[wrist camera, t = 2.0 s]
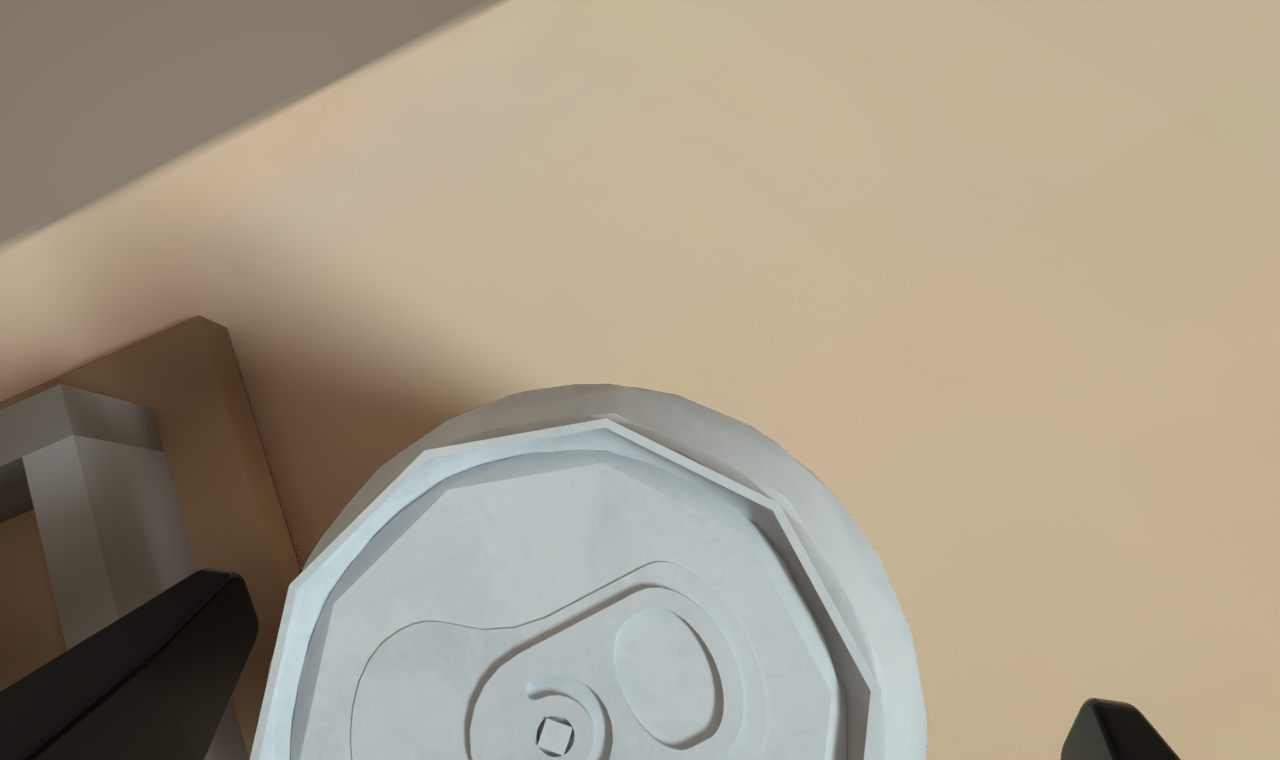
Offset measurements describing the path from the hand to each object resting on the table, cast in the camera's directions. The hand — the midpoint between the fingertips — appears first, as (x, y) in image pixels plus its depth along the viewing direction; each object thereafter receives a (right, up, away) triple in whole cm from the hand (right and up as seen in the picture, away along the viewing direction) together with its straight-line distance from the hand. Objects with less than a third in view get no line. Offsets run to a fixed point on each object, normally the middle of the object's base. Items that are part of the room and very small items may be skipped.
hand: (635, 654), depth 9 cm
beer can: (+1, -2, +8) cm, 8 cm away
